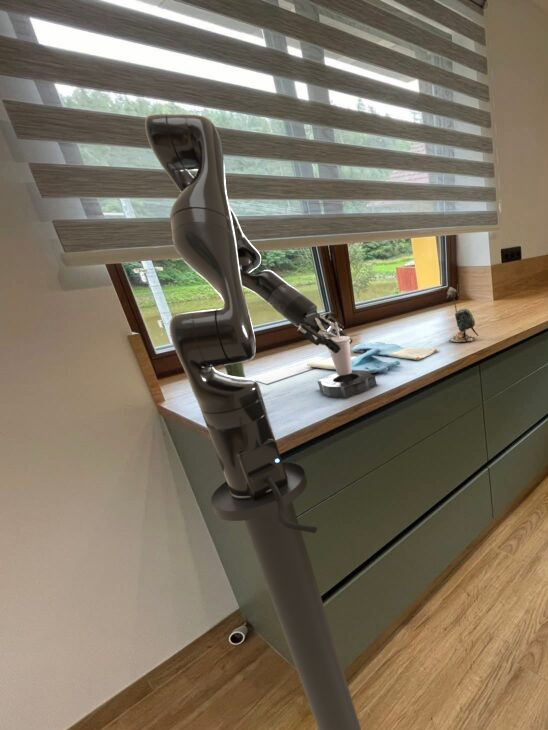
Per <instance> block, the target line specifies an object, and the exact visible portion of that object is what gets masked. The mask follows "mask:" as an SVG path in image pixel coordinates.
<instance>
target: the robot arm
mask: <svg viewBox="0 0 548 730" xmlns="http://www.w3.org/2000/svg"><path fill="white" fill-rule="evenodd" d="M144 129H145V134H146V137H147V141H148V143H149V145H150V148H151V151H152V152H153V154H154V156H155V158H156V159H157V160H158V162H159V164H160V165H161V167H162V168H163V170H164V171H165V172H166V175H168V177H169V178H170V180H171V181H172V182H173V184H174V185H175V187H176V188H177V190H178V191H179V192H180V194H179V195H178V197H177V198H176V199H175V201H174V202H173V204H172V207H171V209H170V213H169V214H170V215H169V219H170V229H171V237H172V244H173V246H174V250H175V251H176V253H177V254H178V256H179V257H180V258H181V259H182V261H184V263H185V264H187V266H188V267H190V268H191V269H192V270H193V271H194V272H196V274H197V275H199V276H200V277H201V278H202V279H204V280H205V281H206V282H207V283H208V284H209V285H210V287H212V288H213V289H214V291H215V292H216V293H217V294H218V295H219V296H220V298H221V299H222V302H223V307H221V308H215V309H205V310H198V311H189V312H183V313H178V314H175V315H174V316H172V318H171V319H170V321H169V333H170V334H169V336H170V339H171V342H172V345H173V348H174V350H175V353H176V355H177V358H178V359H179V362H180V364H181V366H182V368H183V370H184V373H185V375H186V377H187V380H188V383H189V385H190V387H191V390H192V393H193V395H194V398H195V399H196V401H197V404H198V406H199V409H200V412H201V414H202V417H203V420H204V423H205V425H206V428H207V431H208V434H209V436H210V440H211V443H212V445H213V448H214V450H215V451H214V452H215V454H216V456H217V458H218V461H219V465H220V467H221V469H222V473H223V475H224V478H225V480H226V481H227V484H228V486H229V489H230V494H231V496H232V497H233V498H235V499H238V500H249V499H252V500H254V501H256V500H258V499H260V498H262V497H264V496H265V495H267V494H269V493H271V492H273V494H274V496H275V499H276V502H277V506H278V520H279V521H280V523H281V524H282V525H284V526H285V527H287V528H290V529H294V530H299V531H301V532H305V533H312V534H315V533H317V531H318V528H317V526H313V525H307V524H300V523H299V524H296V523H292V522H290V521H288V520H287V519H285V517H284V504H283V500H282V497H281V494H280V492H279V490H278V489H279V488H281V487H282V486H284V485H286V484H288V482H287V475H286V472H285V470H284V467H283V463H284V462H283V460H282V457H281V454H280V451H279V448H278V445H277V441H276V437H275V434H274V430H273V427H272V425H271V421H270V417H269V414H268V411H267V407H266V404H265V400H264V397H263V393H262V391H261V388H260V387H261V386H260V385H259V383H258V381H256V380H254V379H253V378H249V377H246V378H242V377H235V376H230V375H228V374H227V373H223V372H221V371H219V370H217V369H215V368H217V367H223V366H224V365H229V364H236V363H241V362H243V363H245V362H250V361H252V360H253V359H254V358H255V355H256V349H257V343H256V337H255V331H254V327H253V323H252V319H251V315H250V311H249V308H248V307H249V306H248V303H247V299H246V295H245V291H244V288H245V289H247V290H249V291H251V292H253V293H254V294H256V295H257V296H258V297H260V298H261V299H262V300H263V301H265V302H266V303H267V304H268V305H270V306H271V308H273V309H274V310H275V312H277V313H279V315H281V316H282V317H283V318H285V319H286V321H288V322H290V324H292V325H293V326H295V327H297V328H298V329H297V333H298V334H300V335H301V336H303V337H304V338H305V339H307V340H308V341H310V342H311V343H312V344H314V345H315V346H319V345H322V346H325V347H326V348H327V349H328V348H329V349H330V350H331V351H333V352H334V353H338V352H339V351H340V349H341V346H339V345H338V344H337V343H336V342H334V341H333V340H332V339H331V338H332V337H337V331H336V326H335V322H337V325H338V330H339V335H340V336H348V334H347V333H345V332H344V328H345V327H344V325H342V323H341V322H339V321H338V320H337V319H336V318H335V317H334V316H333V315H332V314H330V313H329V312H326V313H325V314H324V315H323V314H321V313H318V306H317V305H316V304H315V303H314V302H312V301H311V299H309V298H308V297H306V295H304V294H303V293H302V292H300V291H299V290H298V289H296V288H295V287H294V286H292V285H290V284H289V283H288V282H286V281H285V280H284V279H283V278H282V277H280V276H279V275H278V274H277V273H276V272H274V271H272V270H270V269H264V270H261V271H259V272H255V273H251V272H253V271H254V270H255V269H257V268H259V266H260V265H261V263H262V257H261V254H260V252H259V251H258V250H257V249H256V247H255V246H254V245H253V244H252V243H251V242H250V240H249V239H248V238H247V237H246V235H245V234H244V233H243V230H242V228H241V225H240V223H239V221H238V218H237V216H236V214H235V213H234V211H233V210H232V208H231V207H230V204H229V197H228V193H227V192H228V191H227V184H226V182H227V181H226V170H225V169H226V168H225V157H224V150H223V145H222V140H221V137H220V133H219V132H218V129H217V127H216V126H215V124H214V123H213V121H211V120H210V119H209V118H208V117H206V116H204V115H198V114H179V113H177V114H175V113H174V114H173V113H171V114H170V113H169V114H167V113H158V114H149V115H147V116H146V118H145V119H144ZM190 171H196V174H195V175H194V176H193V175H192V173H190ZM329 335H331V336H332V337H329ZM329 338H330V339H329ZM350 340H351V341H350V345H351V344H352V343H353V342H354V341H353V339H352V338H351V337H350ZM329 349H328V350H329ZM226 481H225V482H226Z"/></svg>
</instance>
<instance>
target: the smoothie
mask: <svg viewBox="0 0 548 730" xmlns="http://www.w3.org/2000/svg"><path fill="white" fill-rule="evenodd" d="M335 326H336V331H337V337H335V336H331V337H329V339H330V338H331V339H332V340H333V341H334V342H336V343H337V344H338V345H339V346H341V349H340V351H339V352H338V353H334V352H333V351H331V350H330V349H329V348H328V347H327V349H328V352H329V354H330V357H331V358H332V360H333V363H334V366H335V369H334V370H335V371H336V373H337V374H338V375H347V374H350V373H351V372H352V369H351V357H352V355H351V344H350V341H351V340H350V338H351V337H350V336H349V335H347V336H340V335H339V330H338V325H337V322H335Z"/></svg>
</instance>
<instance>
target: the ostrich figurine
mask: <svg viewBox="0 0 548 730" xmlns="http://www.w3.org/2000/svg"><path fill="white" fill-rule="evenodd" d="M457 292H458V291H457V289H456V288H454V287H453V286H450V287H448V289H447V292H446V295H447V296H446V299H448V298H452V302H453V304H454V309H455V313H454V317H455V320H456V321H455V322H456V325H457V328H458V331H457V334H455V335H453V337H451V338H450V339H448V341H449V342H454V343H455V342H456V343H464V342H465V343H466V342H473V341H474V340H475V337H474V336H472V335H468V333H467V330H469V329H471V330H472V332H473V333H474V334H475V335H476V336H477V337H479V335H480V334H478V332H476V330H475V328H474V327H475V325H476V321H475V318H474V316H473V313H472V312H471V311H470V310H469V309H468V308H463V309H459V310H458V309H457V305H456V300H455V298H456V296H457Z"/></svg>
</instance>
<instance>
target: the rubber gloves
mask: <svg viewBox="0 0 548 730" xmlns="http://www.w3.org/2000/svg"><path fill="white" fill-rule="evenodd" d="M360 350H366V352H364V353H362V354H360V355H358V356H351V369H352V370H364V371H368V372H370V373H371V374H374V373H385V372H388V370H389V369H394V368H397V367H398V366H400V365H401V361H400V360H394V361H390V362H389V361H383V360H381V359H379V358H377V357H375V355H378V356H379V355H380V356H388V357H393V358H401V359H407V360H415V361H418V360H422V359H424V358H427V357H428V356H430V355H433V354H435V353H436V352H438V348H429V347H401V345H399V344H397V343H386V342H382V341H381V342H380V341H379V342H378V341H377V342H374V343H373V342H366V343H359V344H357V345H355V346H353V347H352V348H351V352H353V353H357V352H358V351H360ZM307 367H312V368H318V369H319V368H320V369H326V370H336V369H335V366H334V363H333V360H332V358H331V356H330V357H328V358H326V359H323V360H320V359H313V360H310V361H308V362H307Z"/></svg>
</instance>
